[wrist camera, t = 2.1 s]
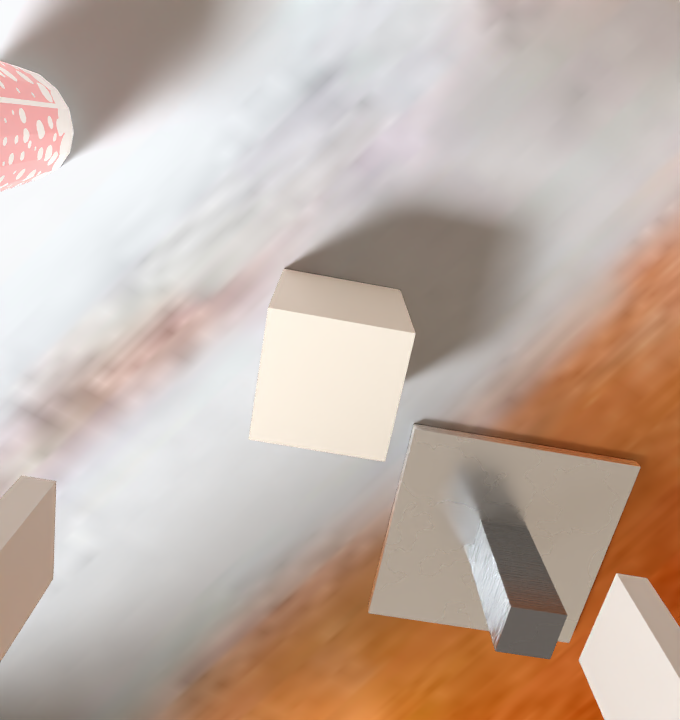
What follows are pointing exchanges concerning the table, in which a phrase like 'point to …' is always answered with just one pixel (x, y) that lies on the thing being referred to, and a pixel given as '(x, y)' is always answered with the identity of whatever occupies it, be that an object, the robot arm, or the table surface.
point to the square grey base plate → (498, 536)
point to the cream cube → (332, 366)
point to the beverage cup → (31, 127)
